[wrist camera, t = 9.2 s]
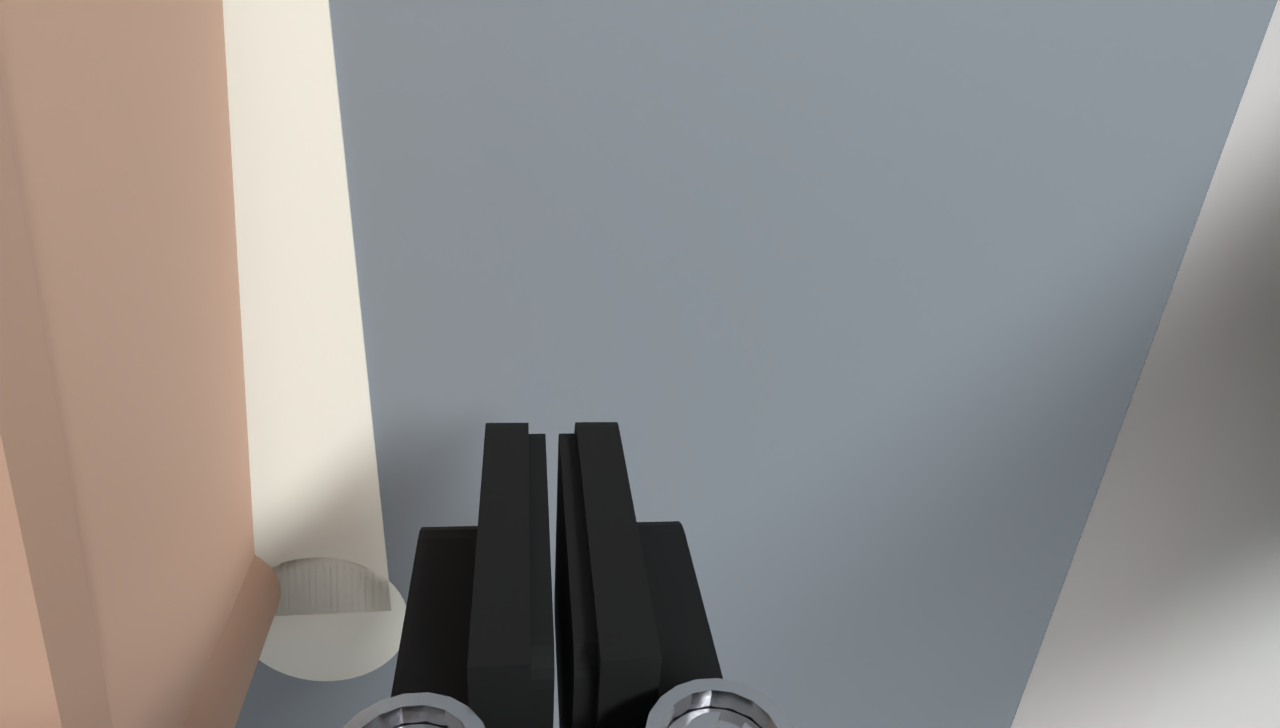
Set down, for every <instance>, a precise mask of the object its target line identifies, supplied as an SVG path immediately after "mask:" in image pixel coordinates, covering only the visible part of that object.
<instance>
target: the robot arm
mask: <svg viewBox="0 0 1280 728" xmlns="http://www.w3.org/2000/svg"><path fill="white" fill-rule="evenodd" d="M554 614H555V641H556V663H557V686H558V709H559V728H794V727H793V725H792V723H791V722H790V721H789V719H788V718H787V716H786V715H785V714H784V712H783V711H782V709H781V708H780V707H779V706H778V705H777V704H775V703H774V702H773V701H772V700H771V699H769V698H768V697H767V696H766V695H764V694H763V693H762V692H760V691H758V690H755V689H753V688H751V687H749V686H747V685H745V684H743V683H740V682H735V681H730V680H725V679H723V676H722V672H721V669H720V665H719V661H718V657H717V653H716V650H715V646H714V642H713V638H712V634H711V630H710V627H709V623H708V619H707V615H706V611H705V608H704V604H703V600H702V596H701V592H700V588H699V585H698V581H697V577H696V573H695V569H694V566H693V562H692V558H691V554H690V550H689V546H688V543H687V539H686V535H685V532H684V529H683V526H682V524H681V523H680V522H679V521H665V522H637V521H636V516H635V510H634V505H633V500H632V494H631V489H630V484H629V478H628V473H627V468H626V462H625V457H624V452H623V446H622V441H621V435H620V430H619V425H618V423H617V422H575V429H574V433H563V434H559V437H558V472H557V512H556V552H555V592H554ZM554 676H555V665H554V626H553V602H552V578H551V554H550V530H549V506H548V482H547V458H546V435H545V434H529V423H486V425H485V437H484V451H483V464H482V477H481V490H480V503H479V516H478V526H448V527H421V529H420V531H419V536H418V541H417V546H416V552H415V558H414V564H413V570H412V576H411V581H410V587H409V593H408V599H407V605H406V611H405V617H404V622H403V628H402V634H401V640H400V646H399V652H398V657H397V663H396V669H395V675H394V681H393V687H392V692H391V698H387V699H384V700H381V701H379V702H377V703H375V704H373V705H371V706H370V707H368V708H366V709H364V710H363V711H361V712H359V713H357V714H356V715H355V716H354V717H353V718H352V719H351V720H350V721H349V722H348V723H347V724H346V725H345V726H344V727H343V728H553V720H554Z"/></svg>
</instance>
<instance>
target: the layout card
mask: <svg viewBox="0 0 1280 728" xmlns="http://www.w3.org/2000/svg"><path fill="white" fill-rule="evenodd" d="M222 1H223V18H224V36H225V53H226V70H227V87H228V104H229V121H230V139H231V156H232V173H233V190H234V207H235V224H236V241H237V259H238V276H239V293H240V310H241V327H242V344H243V361H244V379H245V396H246V413H247V430H248V447H249V464H250V481H251V499H252V516H253V533H254V550H255V555H256V556H257V557H259V558H260V559H262V560H263V561H264V562H265V563H266V564H268V566H269V567H270V568H271V569H272V570H273V572H274V573H275V574H276V576H277V578H278V581H279V584H280V589H281V597H280V601H279V604H278V607H277V610H276V613H275V616H274V618H273V621H272V624H271V627H270V630H269V633H268V635H267V638H266V641H265V644H264V647H263V649H262V652H261V655H260V658H259V661H258V663H257V666H256V669H255V672H254V675H253V678H252V680H251V683H250V686H249V689H248V692H247V694H246V697H245V700H244V703H243V706H242V708H241V711H240V714H239V717H238V720H237V723H236V725H235V728H343V727H344V726H345V725H346V724H347V723H348V722H349V721H350V720H351V719H352V718H353V717H354V716H355V715H356V714H357V713H359V712H361V711H363V710H364V709H366V708H368V707H370V706H371V705H373V704H375V703H377V702H379V701H381V700H384V699H387V698H391V692H392V687H393V681H394V675H395V669H396V663H397V657H398V652H399V646H400V640H401V634H402V628H403V622H404V617H405V611H406V605H407V599H408V593H409V587H410V581H411V576H412V570H413V564H414V558H415V552H416V546H417V541H418V536H419V531H420V529H421V527H448V526H478V516H479V503H480V490H481V477H482V464H483V451H484V437H485V425H486V423H529V434H545V435H546V458H547V482H548V506H549V530H550V554H551V578H552V602H553V626H554V665H555V676H554V720H553V728H559V709H558V686H557V663H556V641H555V614H554V592H555V552H556V512H557V472H558V437H559V434H563V433H574V429H575V422H617V423H618V425H619V430H620V435H621V441H622V446H623V452H624V457H625V462H626V468H627V473H628V478H629V484H630V489H631V494H632V500H633V505H634V510H635V516H636V521H637V522H665V521H679V522H680V523H681V524H682V526H683V529H684V532H685V535H686V539H687V543H688V546H689V550H690V554H691V558H692V562H693V566H694V569H695V573H696V577H697V581H698V585H699V588H700V592H701V596H702V600H703V604H704V608H705V611H706V615H707V619H708V623H709V627H710V630H711V634H712V638H713V642H714V646H715V650H716V653H717V657H718V661H719V665H720V669H721V672H722V676H723V679H725V680H730V681H735V682H740V683H743V684H745V685H747V686H749V687H751V688H753V689H755V690H758V691H760V692H762V693H763V694H764V695H766V696H767V697H768V698H769V699H771V700H772V701H773V702H774V703H775V704H777V705H778V706H779V707H780V708H781V709H782V711H783V712H784V714H785V715H786V716H787V718H788V719H789V721H790V722H791V723H792V725H793V727H794V728H1011V725H1012V722H1013V719H1014V717H1015V714H1016V711H1017V708H1018V706H1019V703H1020V700H1021V698H1022V695H1023V692H1024V689H1025V687H1026V684H1027V681H1028V679H1029V676H1030V673H1031V670H1032V668H1033V665H1034V662H1035V659H1036V657H1037V654H1038V651H1039V649H1040V646H1041V643H1042V640H1043V638H1044V635H1045V632H1046V630H1047V627H1048V624H1049V621H1050V619H1051V616H1052V613H1053V610H1054V608H1055V605H1056V602H1057V600H1058V597H1059V594H1060V591H1061V589H1062V586H1063V583H1064V581H1065V578H1066V575H1067V572H1068V570H1069V567H1070V564H1071V561H1072V559H1073V556H1074V553H1075V551H1076V548H1077V545H1078V542H1079V540H1080V537H1081V534H1082V531H1083V529H1084V526H1085V523H1086V521H1087V518H1088V515H1089V512H1090V510H1091V507H1092V504H1093V502H1094V499H1095V496H1096V493H1097V491H1098V488H1099V485H1100V482H1101V480H1102V477H1103V474H1104V472H1105V469H1106V466H1107V463H1108V461H1109V458H1110V455H1111V453H1112V450H1113V447H1114V444H1115V442H1116V439H1117V436H1118V433H1119V431H1120V428H1121V425H1122V423H1123V420H1124V417H1125V414H1126V412H1127V409H1128V406H1129V404H1130V401H1131V398H1132V395H1133V393H1134V390H1135V387H1136V384H1137V382H1138V379H1139V376H1140V374H1141V371H1142V368H1143V365H1144V363H1145V360H1146V357H1147V355H1148V352H1149V349H1150V346H1151V344H1152V341H1153V338H1154V335H1155V333H1156V330H1157V327H1158V325H1159V322H1160V319H1161V316H1162V314H1163V311H1164V308H1165V305H1166V303H1167V300H1168V297H1169V295H1170V292H1171V289H1172V286H1173V284H1174V281H1175V278H1176V276H1177V273H1178V270H1179V267H1180V265H1181V262H1182V259H1183V256H1184V254H1185V251H1186V248H1187V246H1188V243H1189V240H1190V237H1191V235H1192V232H1193V229H1194V227H1195V224H1196V221H1197V218H1198V216H1199V213H1200V210H1201V207H1202V205H1203V202H1204V199H1205V197H1206V194H1207V191H1208V188H1209V186H1210V183H1211V180H1212V178H1213V175H1214V172H1215V169H1216V167H1217V164H1218V161H1219V158H1220V156H1221V153H1222V150H1223V148H1224V145H1225V142H1226V139H1227V137H1228V134H1229V131H1230V128H1231V126H1232V123H1233V120H1234V118H1235V115H1236V112H1237V109H1238V107H1239V104H1240V101H1241V99H1242V96H1243V93H1244V90H1245V88H1246V85H1247V82H1248V79H1249V77H1250V74H1251V71H1252V69H1253V66H1254V63H1255V60H1256V58H1257V55H1258V52H1259V50H1260V47H1261V44H1262V41H1263V39H1264V36H1265V33H1266V30H1267V28H1268V25H1269V22H1270V20H1271V17H1272V14H1273V11H1274V9H1275V6H1276V3H1277V1H1278V0H222Z"/></svg>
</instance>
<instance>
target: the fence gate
mask: <svg viewBox="0 0 1280 728" xmlns="http://www.w3.org/2000/svg"><path fill="white" fill-rule="evenodd" d="M280 597H281V589H280V584H279V581H278V578H277V576H276V574H275V573H274V572H273V570H272V569H271V568H270V567H269V566H268V564H266V563H265V562H264V561H263V560H262V559H260V558H259V557H257V556H256V555H255V550H254V533H253V516H252V499H251V481H250V464H249V447H248V430H247V413H246V396H245V379H244V361H243V344H242V327H241V310H240V293H239V276H238V259H237V241H236V224H235V207H234V190H233V173H232V156H231V139H230V121H229V104H228V87H227V70H226V53H225V36H224V18H223V1H222V0H0V728H235V725H236V723H237V720H238V717H239V714H240V711H241V708H242V706H243V703H244V700H245V697H246V694H247V692H248V689H249V686H250V683H251V680H252V678H253V675H254V672H255V669H256V666H257V663H258V661H259V658H260V655H261V652H262V649H263V647H264V644H265V641H266V638H267V635H268V633H269V630H270V627H271V624H272V621H273V618H274V616H275V613H276V610H277V607H278V604H279V601H280Z"/></svg>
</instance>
